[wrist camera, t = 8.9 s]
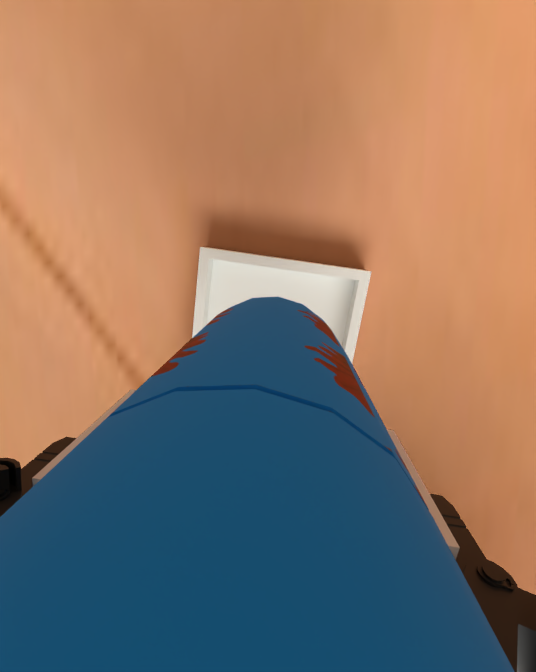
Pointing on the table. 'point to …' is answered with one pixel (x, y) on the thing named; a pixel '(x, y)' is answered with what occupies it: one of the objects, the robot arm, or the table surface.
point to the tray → (281, 288)
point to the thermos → (238, 526)
